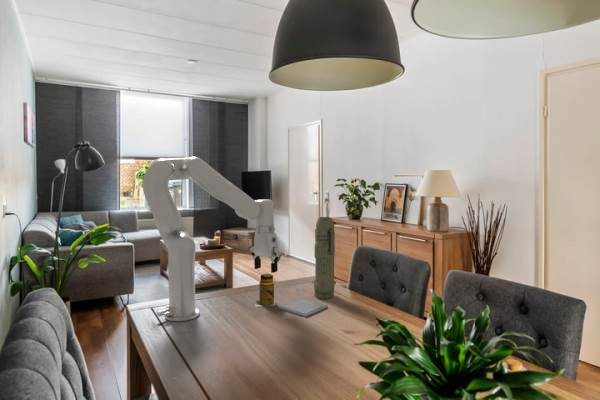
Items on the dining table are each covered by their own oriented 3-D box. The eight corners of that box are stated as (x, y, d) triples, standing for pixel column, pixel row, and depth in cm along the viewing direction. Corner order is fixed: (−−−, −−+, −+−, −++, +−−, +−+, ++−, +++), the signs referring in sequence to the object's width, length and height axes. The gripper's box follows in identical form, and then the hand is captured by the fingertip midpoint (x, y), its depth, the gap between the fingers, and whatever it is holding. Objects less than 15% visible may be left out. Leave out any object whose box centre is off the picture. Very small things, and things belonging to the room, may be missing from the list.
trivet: (305, 317, 144) (305, 315, 144) (278, 309, 153) (278, 306, 153) (327, 307, 155) (327, 305, 155) (301, 300, 164) (301, 298, 164)
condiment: (276, 305, 157) (276, 277, 157) (255, 307, 155) (255, 278, 155) (273, 300, 164) (273, 272, 164) (253, 301, 163) (253, 273, 162)
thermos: (321, 290, 177) (322, 215, 175) (340, 297, 168) (341, 218, 166) (307, 294, 172) (308, 217, 169) (326, 301, 163) (327, 219, 160)
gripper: (286, 230, 155) (287, 271, 157) (256, 226, 166) (257, 265, 168) (273, 232, 149) (274, 275, 151) (243, 228, 160) (245, 268, 162)
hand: (265, 270), depth 159 cm, fingers open, 9 cm apart
